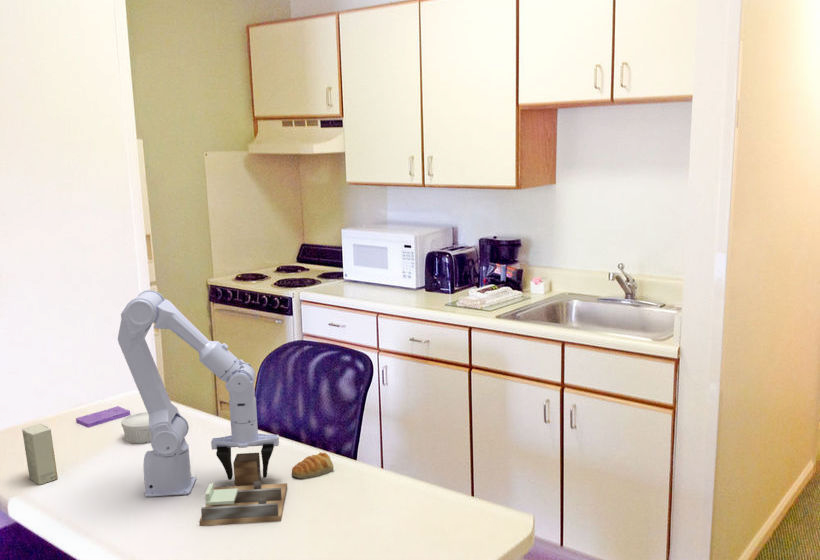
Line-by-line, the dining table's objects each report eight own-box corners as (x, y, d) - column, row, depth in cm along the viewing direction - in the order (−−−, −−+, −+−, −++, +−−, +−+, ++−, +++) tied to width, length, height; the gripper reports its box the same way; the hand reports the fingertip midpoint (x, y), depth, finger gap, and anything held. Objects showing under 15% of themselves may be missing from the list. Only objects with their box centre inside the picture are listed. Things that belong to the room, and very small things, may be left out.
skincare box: (58, 479, 172) (52, 429, 170) (38, 486, 169) (32, 434, 167) (47, 471, 176) (41, 422, 174) (27, 478, 173) (21, 428, 171)
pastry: (301, 483, 167) (300, 467, 166) (285, 474, 172) (284, 459, 171) (336, 471, 173) (335, 455, 172) (319, 462, 178) (319, 447, 177)
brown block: (235, 488, 165) (233, 462, 164) (238, 478, 170) (236, 453, 169) (258, 487, 165) (256, 461, 164) (260, 477, 170) (259, 452, 169)
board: (199, 525, 149) (198, 509, 148) (213, 491, 163) (212, 477, 163) (280, 520, 150) (279, 505, 149) (287, 487, 164) (286, 473, 164)
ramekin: (151, 426, 204) (149, 408, 203) (176, 434, 197) (175, 415, 197) (114, 440, 195) (112, 420, 194) (139, 449, 189) (137, 429, 188)
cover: (205, 505, 149) (204, 495, 149) (210, 492, 155) (210, 482, 154) (233, 503, 150) (233, 493, 149) (238, 491, 155) (237, 481, 155)
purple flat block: (130, 416, 213) (130, 410, 213) (87, 429, 204) (86, 423, 204) (118, 411, 218) (118, 405, 217) (76, 424, 209) (75, 417, 208)
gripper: (206, 427, 160) (211, 486, 163) (275, 423, 161) (278, 482, 164) (212, 415, 167) (217, 472, 170) (278, 412, 168) (281, 469, 171)
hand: (247, 477), depth 167 cm, fingers open, 7 cm apart
